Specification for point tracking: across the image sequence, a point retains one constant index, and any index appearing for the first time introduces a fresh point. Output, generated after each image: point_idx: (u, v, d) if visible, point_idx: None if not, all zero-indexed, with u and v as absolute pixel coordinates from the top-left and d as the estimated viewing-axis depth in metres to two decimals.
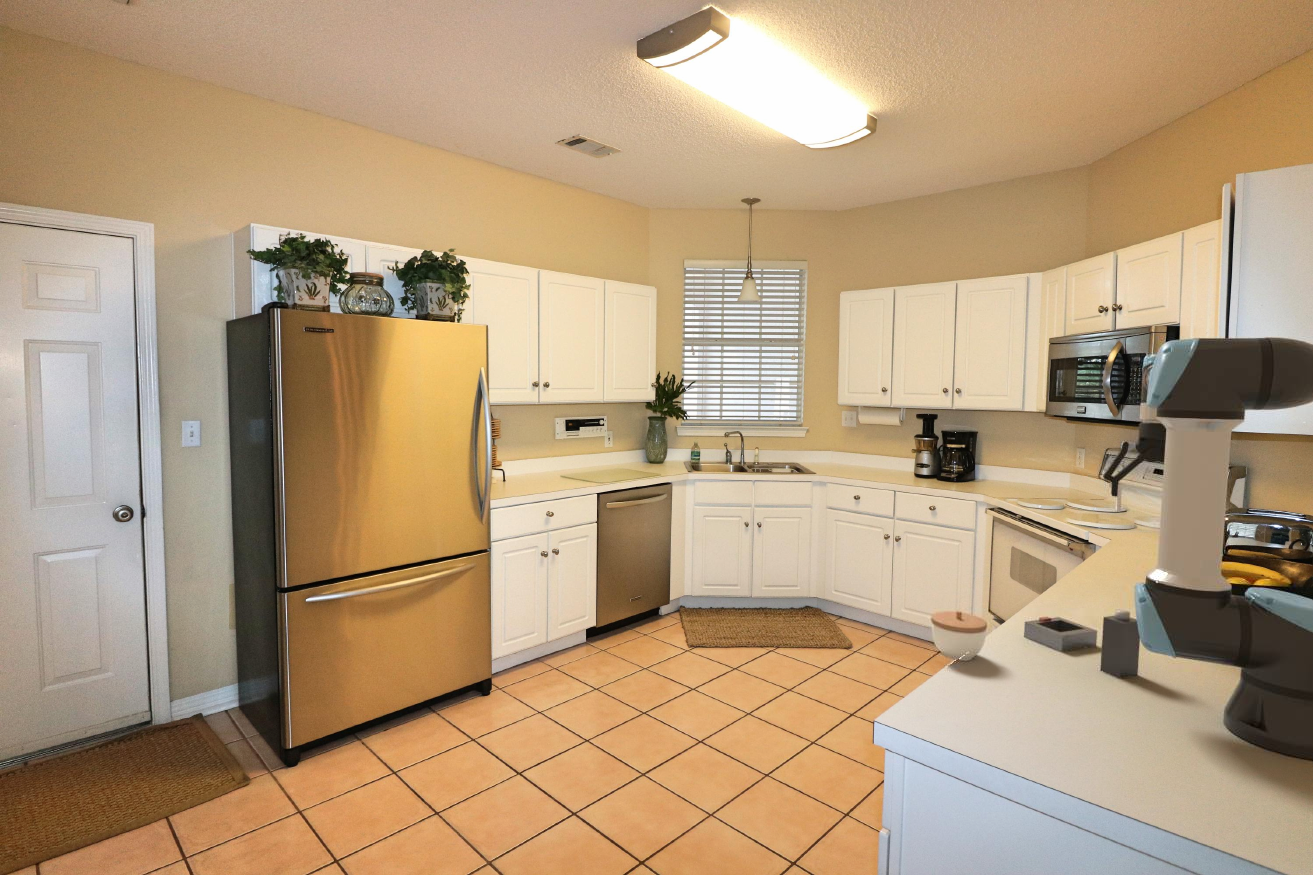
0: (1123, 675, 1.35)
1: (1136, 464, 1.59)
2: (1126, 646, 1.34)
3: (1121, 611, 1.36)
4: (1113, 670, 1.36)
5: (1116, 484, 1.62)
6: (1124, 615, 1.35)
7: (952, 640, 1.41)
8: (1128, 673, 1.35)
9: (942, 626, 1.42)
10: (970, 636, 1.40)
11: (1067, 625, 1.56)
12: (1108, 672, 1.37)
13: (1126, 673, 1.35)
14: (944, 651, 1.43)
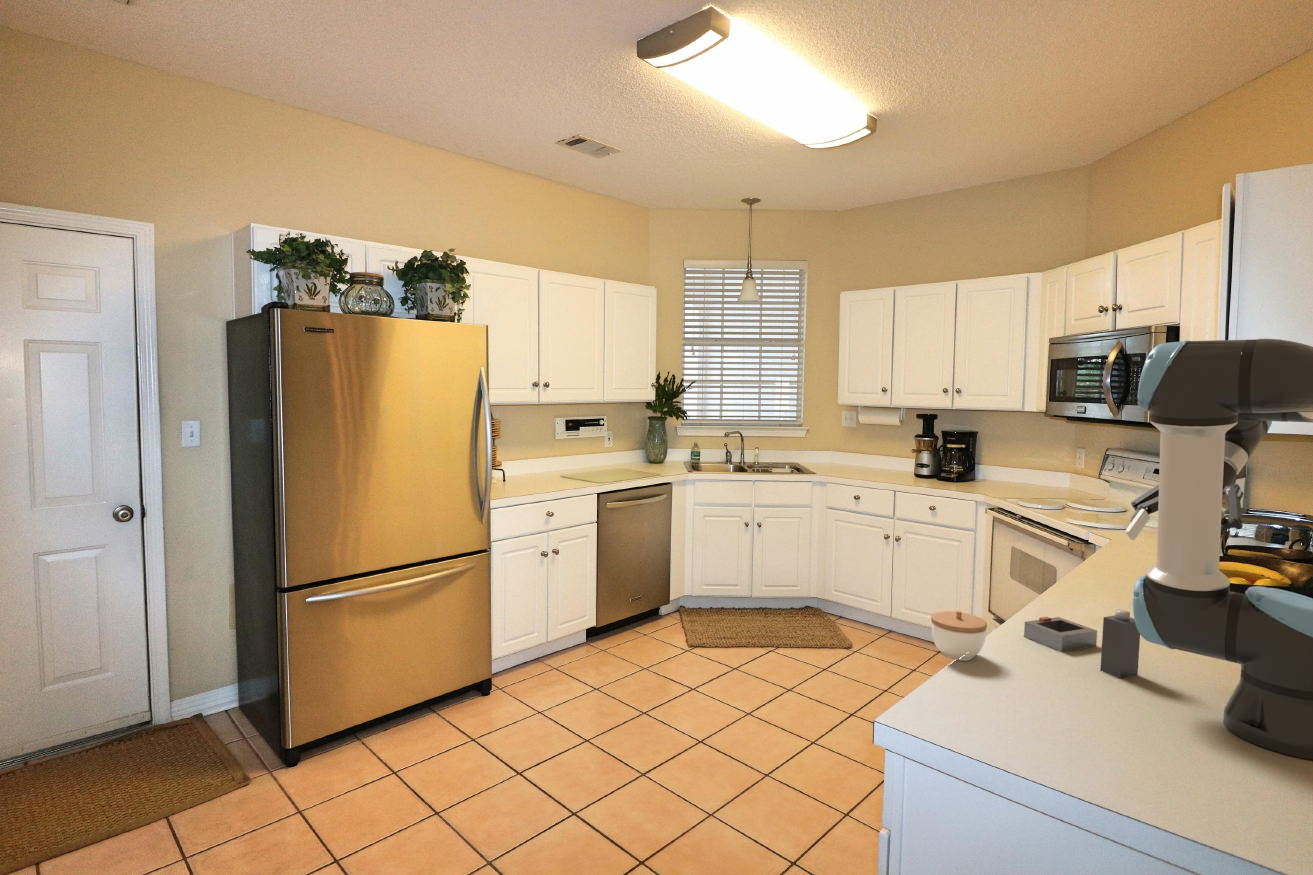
0: (1123, 675, 1.35)
1: None
2: (1126, 646, 1.34)
3: (1121, 611, 1.36)
4: (1113, 670, 1.36)
5: None
6: (1124, 615, 1.35)
7: (952, 640, 1.41)
8: (1128, 673, 1.35)
9: (942, 626, 1.42)
10: (970, 636, 1.40)
11: (1067, 625, 1.56)
12: (1108, 672, 1.37)
13: (1126, 673, 1.35)
14: (944, 651, 1.43)
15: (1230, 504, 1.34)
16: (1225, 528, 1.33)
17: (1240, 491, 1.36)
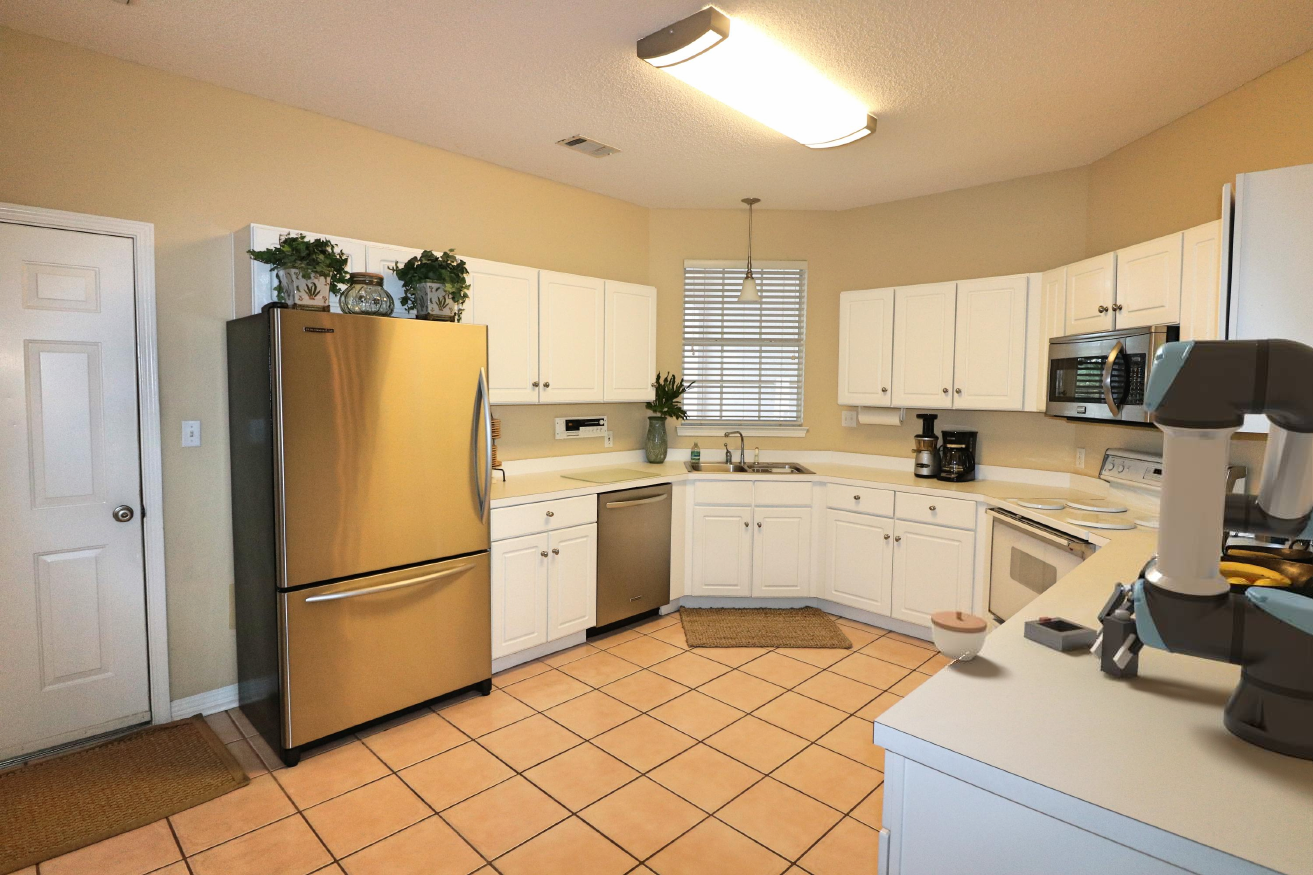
0: (1123, 675, 1.35)
1: (1128, 604, 1.39)
2: None
3: (1121, 611, 1.36)
4: (1113, 670, 1.36)
5: None
6: (1124, 615, 1.35)
7: (952, 640, 1.41)
8: (1128, 673, 1.35)
9: (942, 626, 1.42)
10: (970, 636, 1.40)
11: (1067, 625, 1.56)
12: (1108, 672, 1.37)
13: (1126, 673, 1.35)
14: (944, 651, 1.43)
15: None
16: (1143, 642, 1.33)
17: None
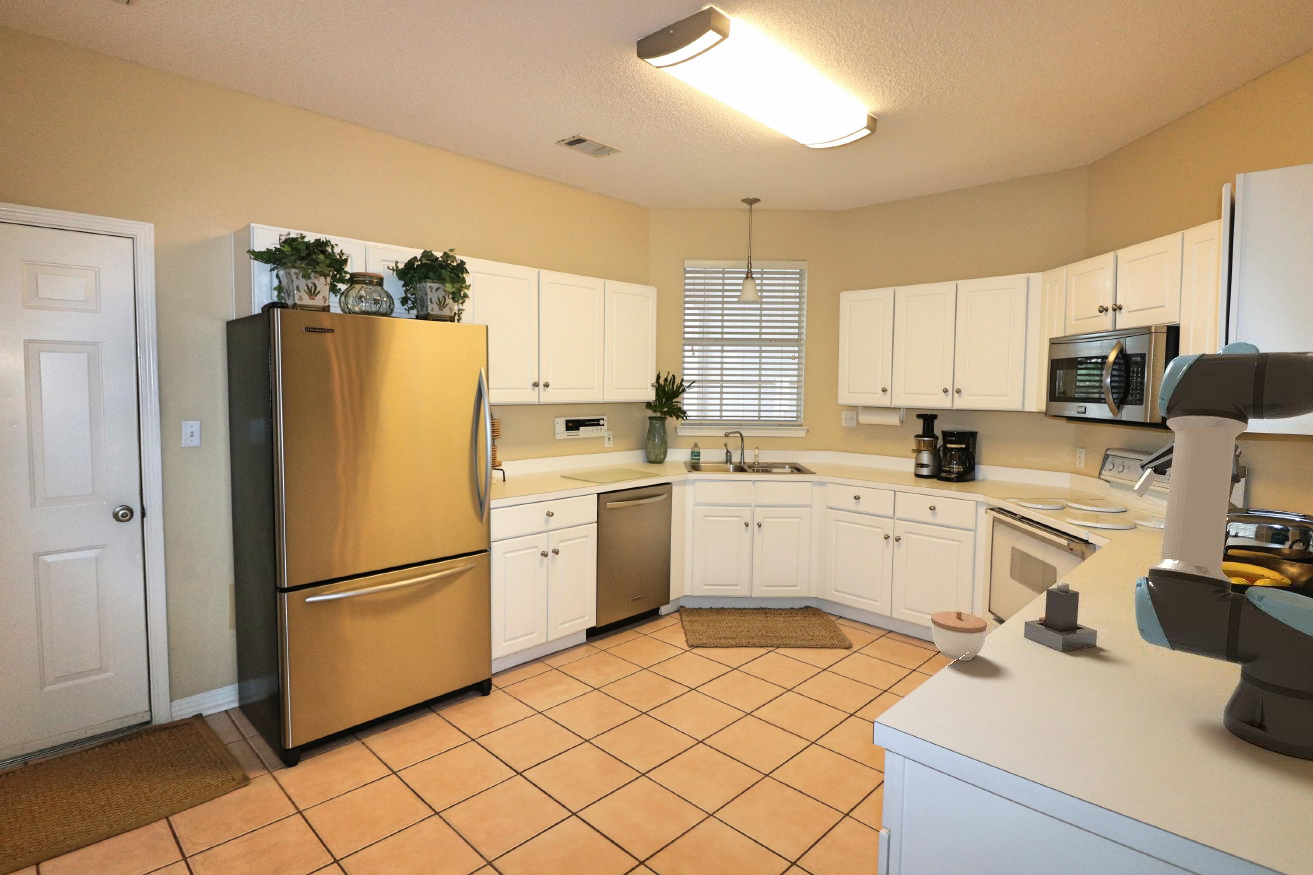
0: None
1: None
2: (1065, 614, 1.51)
3: (1061, 584, 1.53)
4: None
5: None
6: (1064, 587, 1.52)
7: (952, 640, 1.41)
8: None
9: (942, 626, 1.42)
10: (970, 636, 1.40)
11: None
12: None
13: None
14: (944, 651, 1.43)
15: None
16: None
17: (1238, 449, 1.50)
